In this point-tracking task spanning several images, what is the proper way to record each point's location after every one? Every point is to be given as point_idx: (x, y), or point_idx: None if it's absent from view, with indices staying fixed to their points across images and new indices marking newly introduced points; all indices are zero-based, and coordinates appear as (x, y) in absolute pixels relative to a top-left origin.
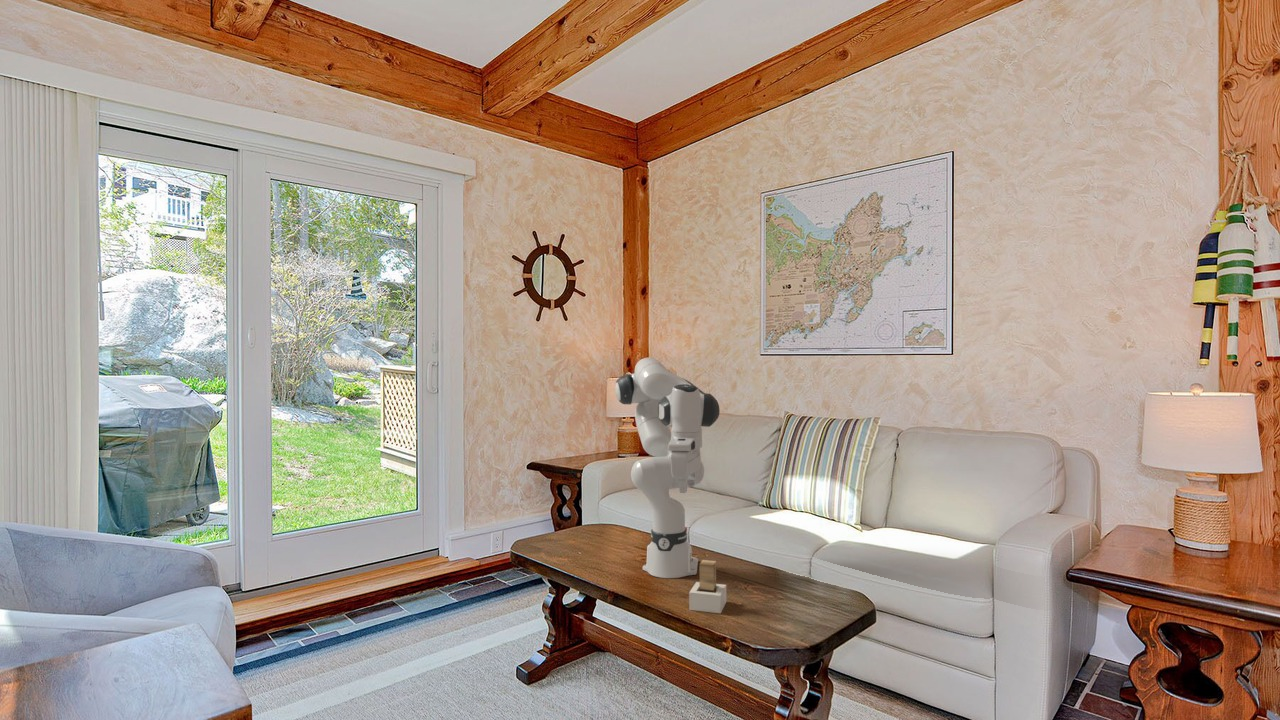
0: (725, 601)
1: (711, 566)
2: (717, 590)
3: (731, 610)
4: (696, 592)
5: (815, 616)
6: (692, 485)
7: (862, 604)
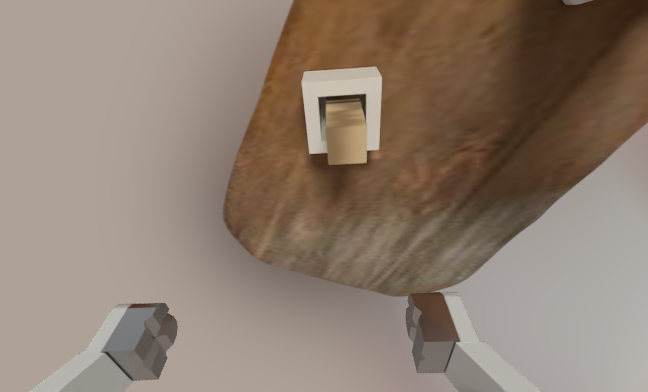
0: None
1: (328, 159)
2: None
3: None
4: (308, 100)
5: (354, 257)
6: (406, 323)
7: None
